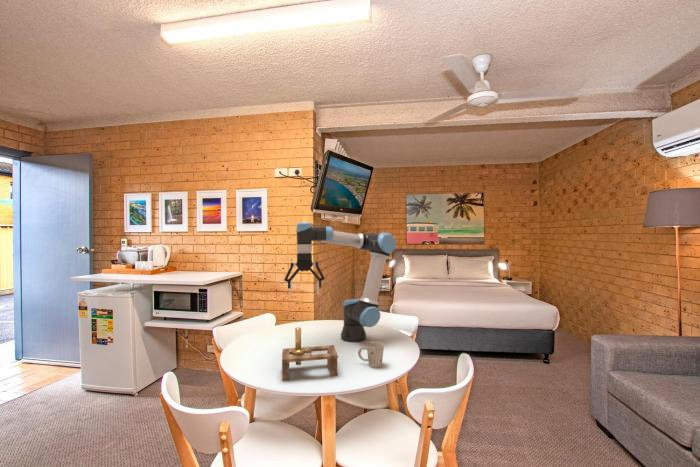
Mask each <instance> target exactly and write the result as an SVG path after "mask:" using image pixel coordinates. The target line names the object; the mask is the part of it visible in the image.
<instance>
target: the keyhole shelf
mask: <svg viewBox="0 0 700 467" xmlns="http://www.w3.org/2000/svg"><path fill="white" fill-rule="evenodd" d="M301 347H302V346H301ZM293 348H294V347H290V348H282V350H281V351H282V352H281V354H282V355H281V370H282V371H281V374H282V375H281V376H282V378H281V380H282V381H289V380H290V363H295V362H298V361H301V362H308V361H320V360H323V361H324V360H327V368H328V371H329V375H330V376H331V377H332V376H338V359H339V355H338V351H337V349H336V347H335V345H334V344H329V345H316V346H304V347H302V348H305V353H304V354H303V355H292V349H293ZM321 351H322V352H324V351H325V352H326V353H318V354H317V353H316V354H313V353H312V352H321Z"/></svg>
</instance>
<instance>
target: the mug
mask: <svg viewBox="0 0 700 467" xmlns="http://www.w3.org/2000/svg"><path fill="white" fill-rule="evenodd" d="M365 345H366V346H360V347H359V349H358V351H357V356H358V357H359V359H360V360H362V361H364V362H368V366H369V367H370V368H375V369H377V368H381V367H382V366H383V357H384V349H385V343H384V342H382V341H377V340H375V341H368V342H367V343H366V344H365ZM363 350H366V353H367V358H364V357H363V356H362V355H361V353H362V351H363Z"/></svg>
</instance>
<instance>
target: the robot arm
mask: <svg viewBox="0 0 700 467" xmlns="http://www.w3.org/2000/svg"><path fill="white" fill-rule="evenodd" d="M394 237H395V236H393V234H391V233H389V232H372V233H370V232H369V233H361V232H359V233H357V234H356V233H351V232H350V233H349V232H346V231H345V232H343V231H339V230H338V231H337V230H333V227H331V226H326V225H325V226H324V225H323V226H313V224H312V222H306V221H305V222H297V224H296V262H292V261H291V262H290V266H289V269H288V271H287V273H286V275H285V276H284V277H285V278H284V282H287V289H290V290H289V291H290V292H289V294H290V296H293V282H292V280H293V279H294V278H295V277H296V276H297V274H298V273H299V272H308V271H310V272H311V273H312V274H313V276H314V277H315V278H316V279H317V281H316V294H317V295H320V288H321V287H322V281H324V280H325V277H324V275H323V272H322V270H321V269H320V267H319V262H318V261H315V262H313V258H312V257H313V256H312V255H313V254H312V252H313V249H312V247H313V246H312V243H313V242H320V243H326V244H334V245H340V246H341V245H342V246H348V247H355V248H356V249H358V250H363V251H367V252H369V254H370V262H369V267H368V271H367V275H366V278H365V283H364V288H363V292H362V296H361V297H360V298H353V299H352V298H351V299H346V300H344V301H343V306H342V308H343V326H342V330H341V332H340V340H342V341H344V342H351V343H355V342H356V341H358V342H362V340H363V341H365V340H366V339H367V333H366V330H365V327H367V328H372V327H375V325H377V324H378V322H380V319H381V312H380V309H379V302H378V297H379V293H380V288H381V284H382V281H383V280H382V279H383V275H384V271H385V266H386V263H387V262H386V261H387V260H388V259H390V256H391V254H392V253H393V252H395V250H396V247H397V242H396V239H395V238H394ZM295 266H296V267H297V268H296V269H295V271H294V272H293V273H292V275H291V276H290V274H291V272H292V270H293V268H295ZM312 266H313V267H315V268H316V270H317V272H318V273H319V275H318V274H317V273H316V272H315V271H314V270H313V269H312ZM319 276H320V277H319ZM364 339H365V340H364ZM356 343H357V342H356Z"/></svg>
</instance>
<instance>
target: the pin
mask: <svg viewBox="0 0 700 467" xmlns="http://www.w3.org/2000/svg"><path fill="white" fill-rule="evenodd" d="M294 332H295V334H294V342H295V345H294V346H295V347H292V348H293V349H292V355H303V354H304V353H305V348H302V327H299V326H298V327H295V328H294ZM305 354H306V353H305ZM294 363H295V366H301V365H302V361H298V362H294Z"/></svg>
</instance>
